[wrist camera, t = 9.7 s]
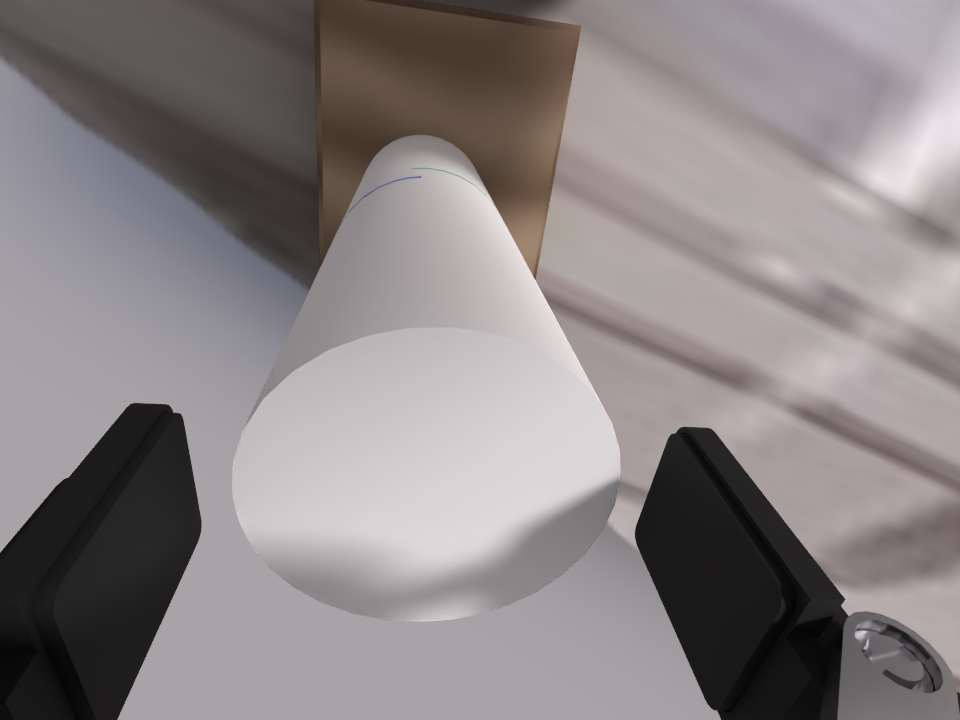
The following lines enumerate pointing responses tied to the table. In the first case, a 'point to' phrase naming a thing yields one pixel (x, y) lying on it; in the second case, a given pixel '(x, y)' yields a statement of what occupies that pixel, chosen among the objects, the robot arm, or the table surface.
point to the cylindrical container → (424, 412)
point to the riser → (442, 100)
